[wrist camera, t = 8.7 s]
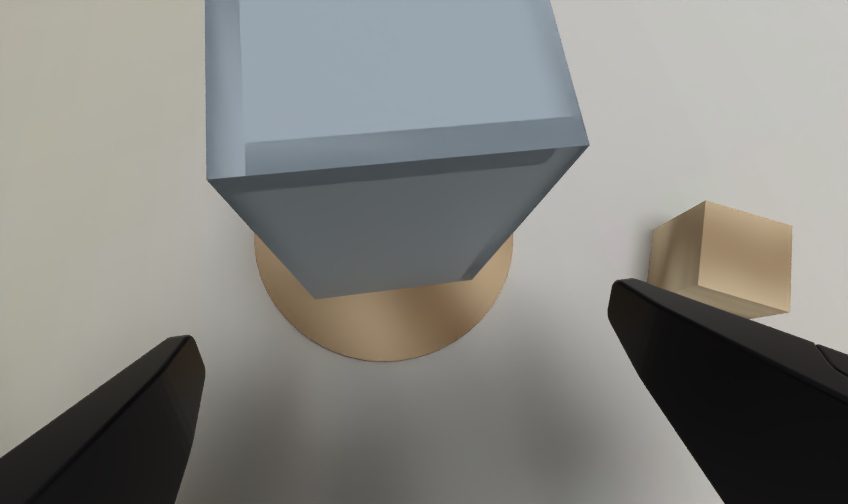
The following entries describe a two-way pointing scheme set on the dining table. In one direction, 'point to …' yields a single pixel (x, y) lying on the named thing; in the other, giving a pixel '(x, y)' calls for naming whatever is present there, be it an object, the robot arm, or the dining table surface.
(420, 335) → the coaster
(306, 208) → the blue-grey open box
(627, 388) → the dining table surface
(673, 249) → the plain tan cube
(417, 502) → the dining table surface
